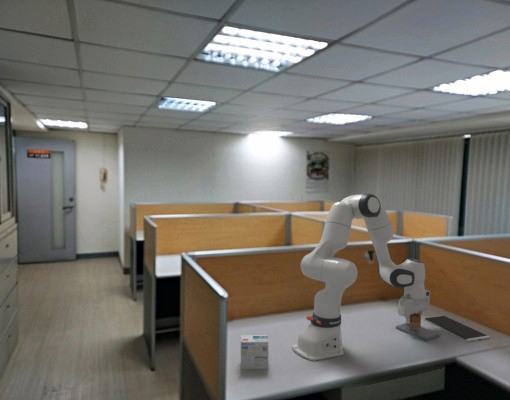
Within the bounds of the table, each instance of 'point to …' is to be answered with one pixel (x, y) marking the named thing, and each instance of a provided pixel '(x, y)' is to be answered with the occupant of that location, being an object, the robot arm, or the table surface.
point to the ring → (415, 321)
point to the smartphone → (456, 328)
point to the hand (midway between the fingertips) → (413, 321)
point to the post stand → (418, 332)
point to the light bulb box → (254, 352)
